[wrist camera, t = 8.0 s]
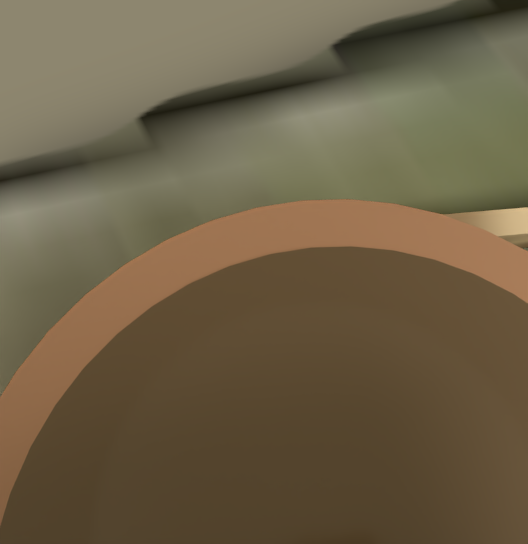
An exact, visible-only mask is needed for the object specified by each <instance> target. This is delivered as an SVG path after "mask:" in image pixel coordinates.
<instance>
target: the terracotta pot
mask: <svg viewBox="0 0 528 544" xmlns="http://www.w3.org/2000/svg"><path fill="white" fill-rule="evenodd" d="M0 544H528V251H526V250H524V249H522V248H520V247H518V246H516V245H514V244H512V243H510V242H508V241H506V240H504V239H502V238H500V237H498V236H496V235H494V234H492V233H490V232H488V231H486V230H484V229H481V228H478V227H475V226H473V225H470V224H467V223H464V222H461V221H459V220H456V219H453V218H450V217H447V216H445V215H442V214H438V213H434V212H429V211H425V210H420V209H416V208H412V207H407V206H403V205H398V204H392V203H382V202H372V201H362V200H351V199H339V200H304V201H296V202H290V203H283V204H277V205H270V206H264V207H257V208H253V209H250V210H246V211H243V212H239V213H236V214H232V215H229V216H226V217H222V218H219V219H215V220H212V221H209V222H207V223H204V224H202V225H200V226H197V227H195V228H193V229H190V230H188V231H186V232H184V233H181V234H179V235H177V236H174V237H172V238H170V239H167V240H165V241H164V242H162V243H160V244H159V245H157V246H155V247H154V248H152V249H150V250H148V251H147V252H145V253H143V254H142V255H140V256H138V257H137V258H135V259H133V260H131V261H130V262H128V263H126V264H125V265H123V266H122V267H121V268H119V269H118V270H117V271H116V272H114V273H113V274H112V275H110V276H109V277H108V278H106V279H105V280H104V281H103V282H101V283H100V284H99V285H97V286H96V287H95V288H93V289H92V290H91V291H90V292H88V293H87V294H86V295H85V296H84V297H82V298H81V299H80V300H79V301H78V302H77V303H76V304H75V305H74V306H73V307H72V308H71V309H70V310H69V311H68V312H67V313H66V314H65V315H64V316H63V317H62V318H61V319H60V320H59V321H58V322H57V323H56V324H55V325H54V326H53V327H52V328H51V329H50V330H49V331H48V332H47V334H46V335H45V336H44V337H43V339H42V340H41V341H40V342H39V344H38V345H37V346H36V347H35V349H34V350H33V351H32V352H31V354H30V355H29V356H28V357H27V359H26V360H25V361H24V362H23V364H22V365H21V366H20V367H19V369H18V370H17V371H16V373H15V374H14V376H13V377H12V379H11V381H10V382H9V384H8V385H7V387H6V389H5V390H4V392H3V394H2V395H1V397H0Z"/></svg>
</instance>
